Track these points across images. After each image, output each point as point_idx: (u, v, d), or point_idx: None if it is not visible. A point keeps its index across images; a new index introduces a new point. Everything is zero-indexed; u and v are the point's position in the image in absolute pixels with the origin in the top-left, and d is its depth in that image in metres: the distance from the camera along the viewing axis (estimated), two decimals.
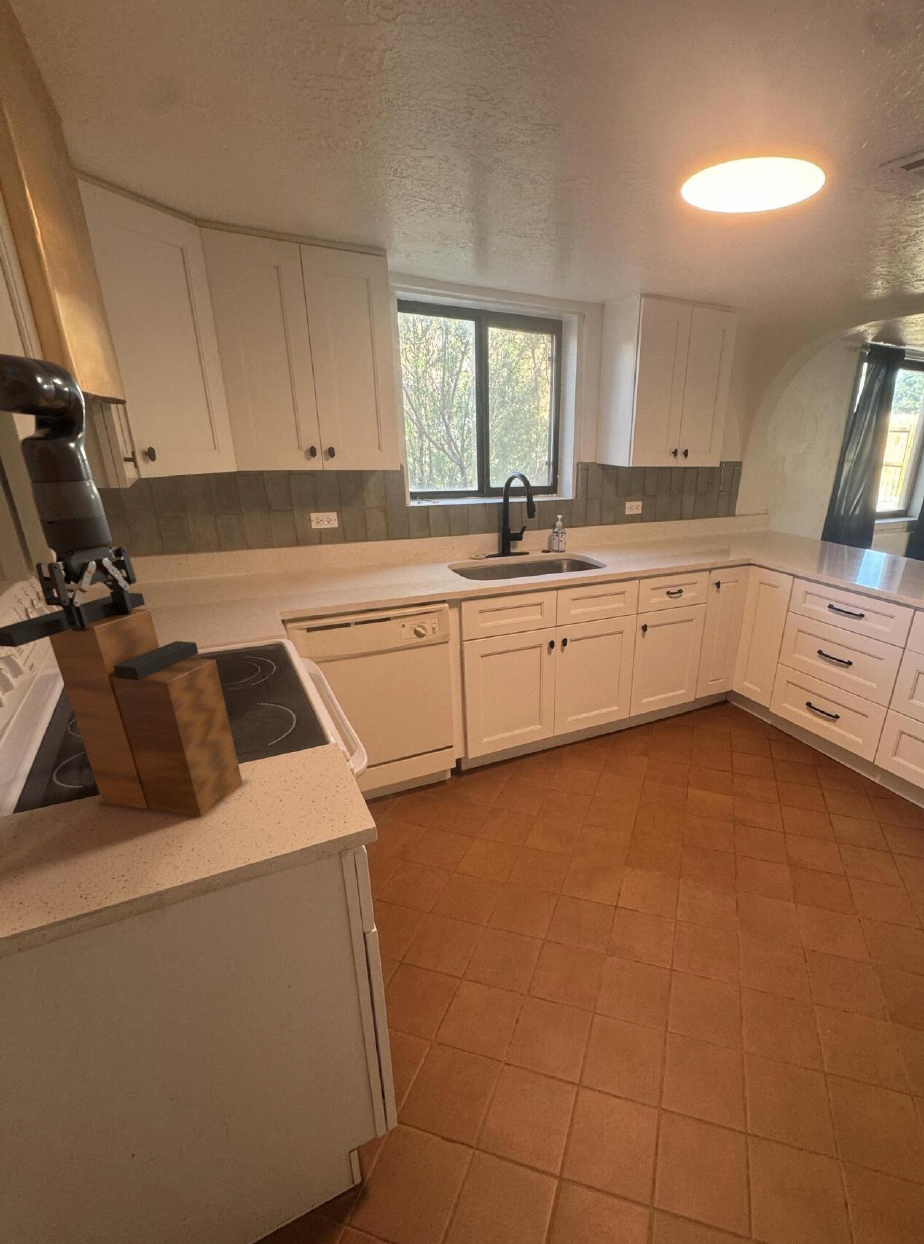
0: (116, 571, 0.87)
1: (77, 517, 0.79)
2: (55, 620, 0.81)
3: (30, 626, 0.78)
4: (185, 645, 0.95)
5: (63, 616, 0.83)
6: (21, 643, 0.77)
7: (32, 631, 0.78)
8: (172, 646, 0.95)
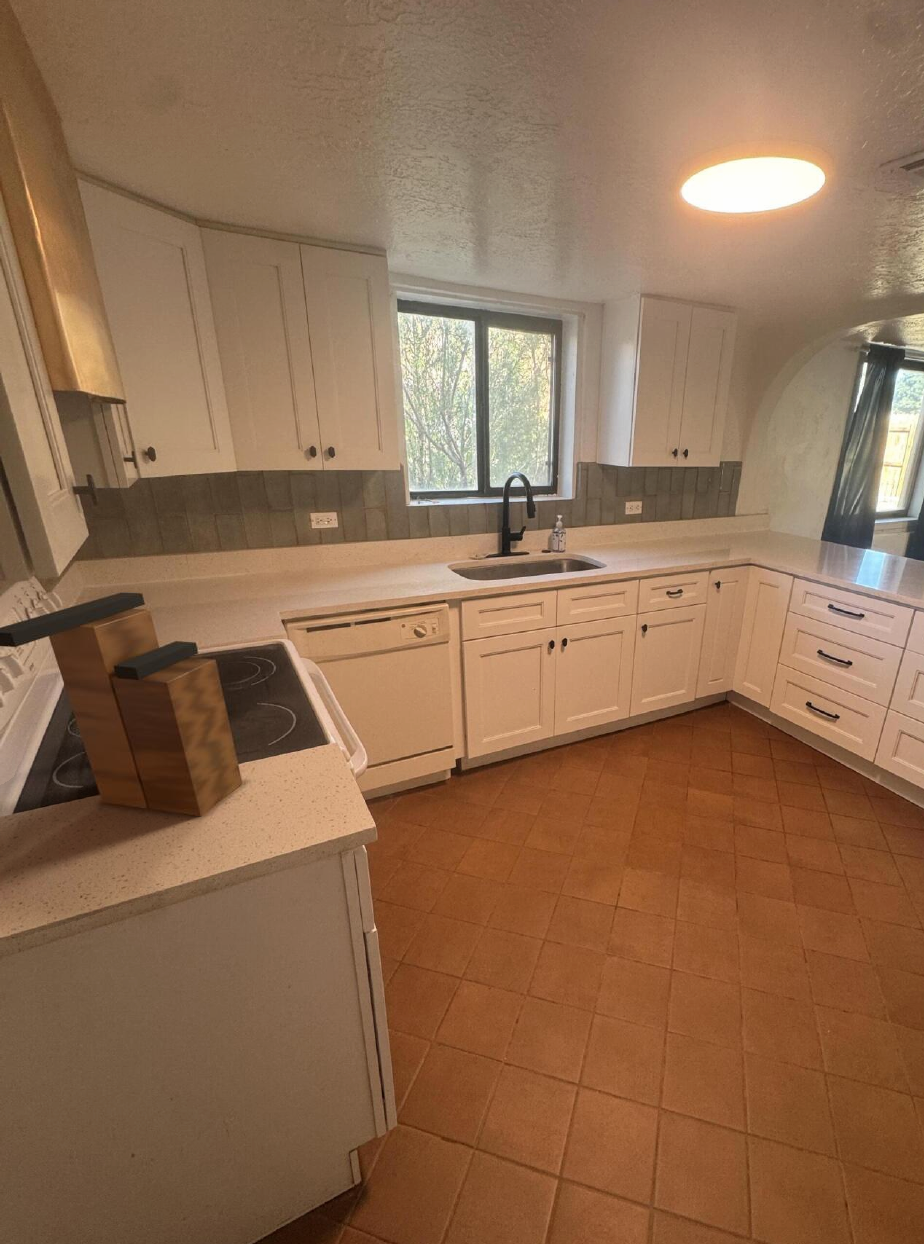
0: None
1: None
2: (55, 620, 0.81)
3: (30, 626, 0.78)
4: (185, 645, 0.95)
5: (63, 616, 0.83)
6: (21, 643, 0.77)
7: (32, 631, 0.78)
8: (172, 646, 0.95)
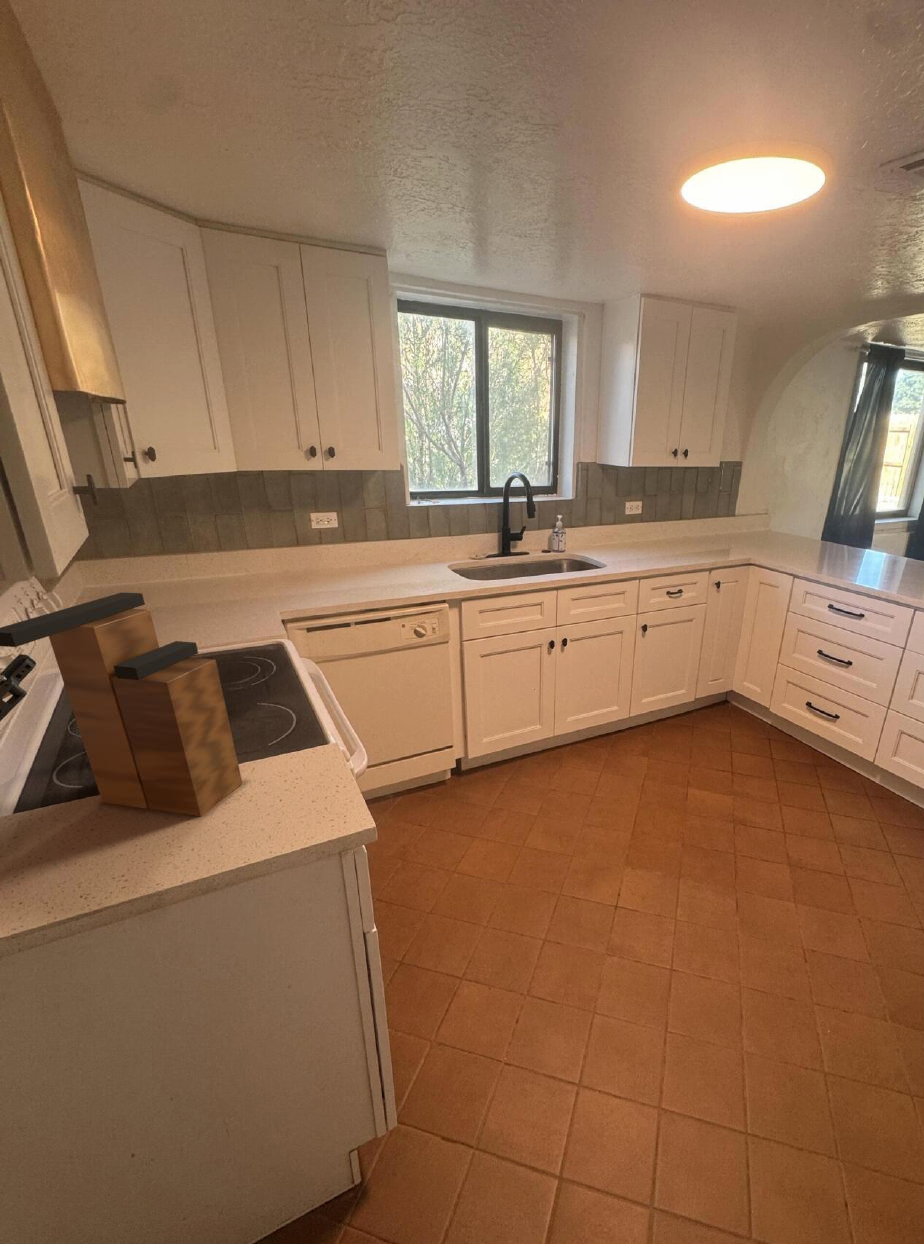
0: None
1: None
2: (55, 620, 0.81)
3: (30, 626, 0.78)
4: (185, 645, 0.95)
5: (63, 616, 0.83)
6: (21, 643, 0.77)
7: (32, 631, 0.78)
8: (172, 646, 0.95)
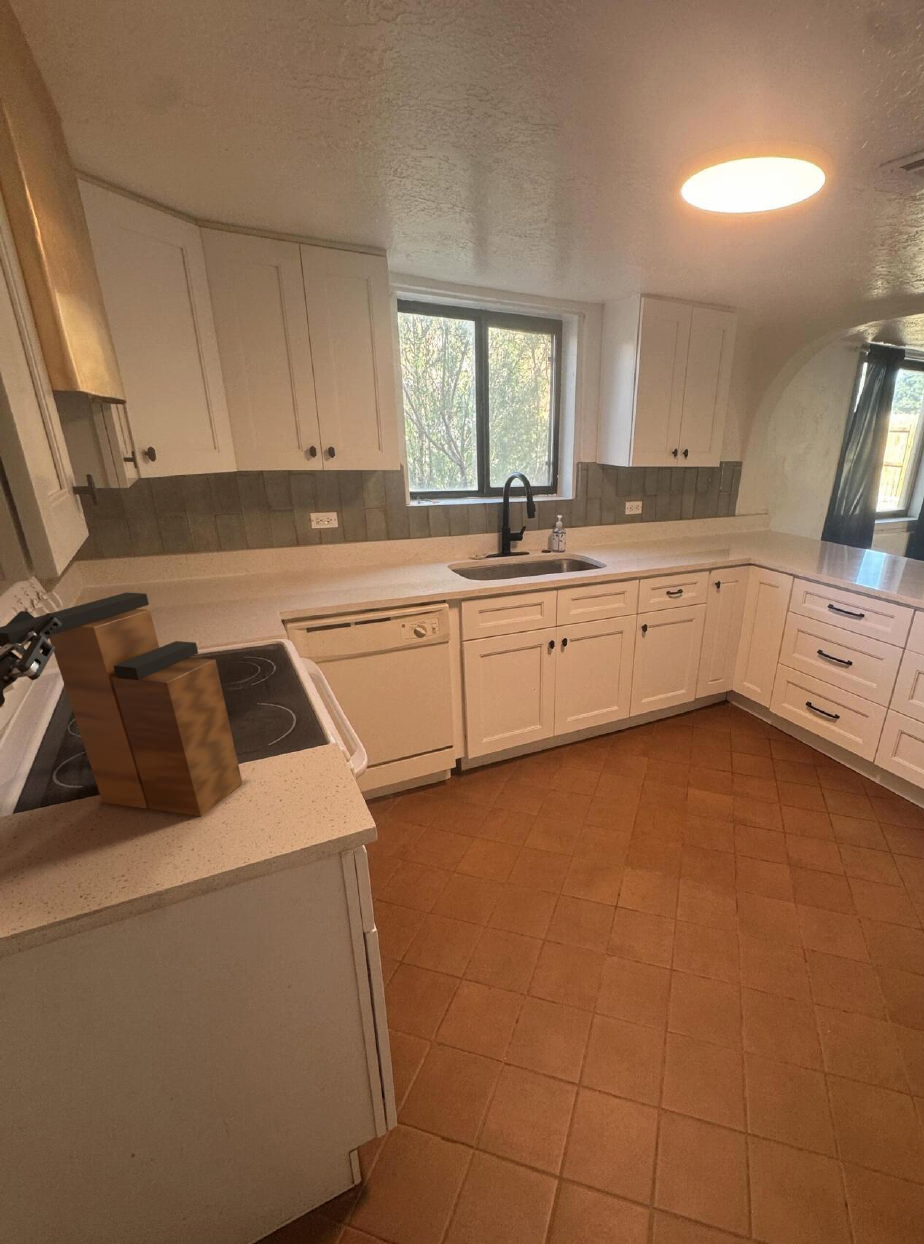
0: None
1: None
2: None
3: (28, 626, 0.78)
4: (185, 645, 0.95)
5: (63, 616, 0.83)
6: None
7: (29, 631, 0.78)
8: (172, 646, 0.95)
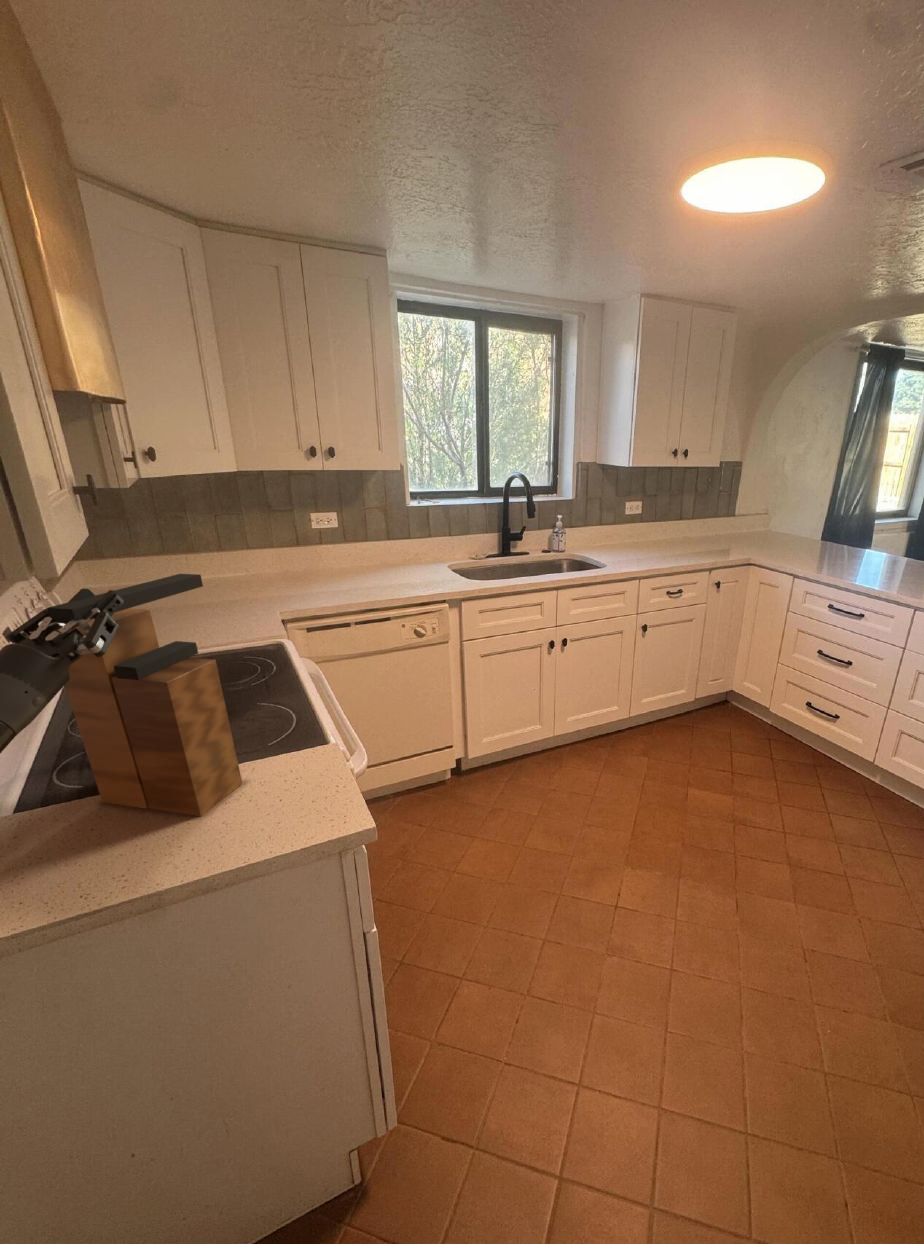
0: None
1: None
2: None
3: (91, 603, 0.77)
4: (185, 645, 0.95)
5: (123, 594, 0.81)
6: None
7: (92, 608, 0.77)
8: (172, 646, 0.95)
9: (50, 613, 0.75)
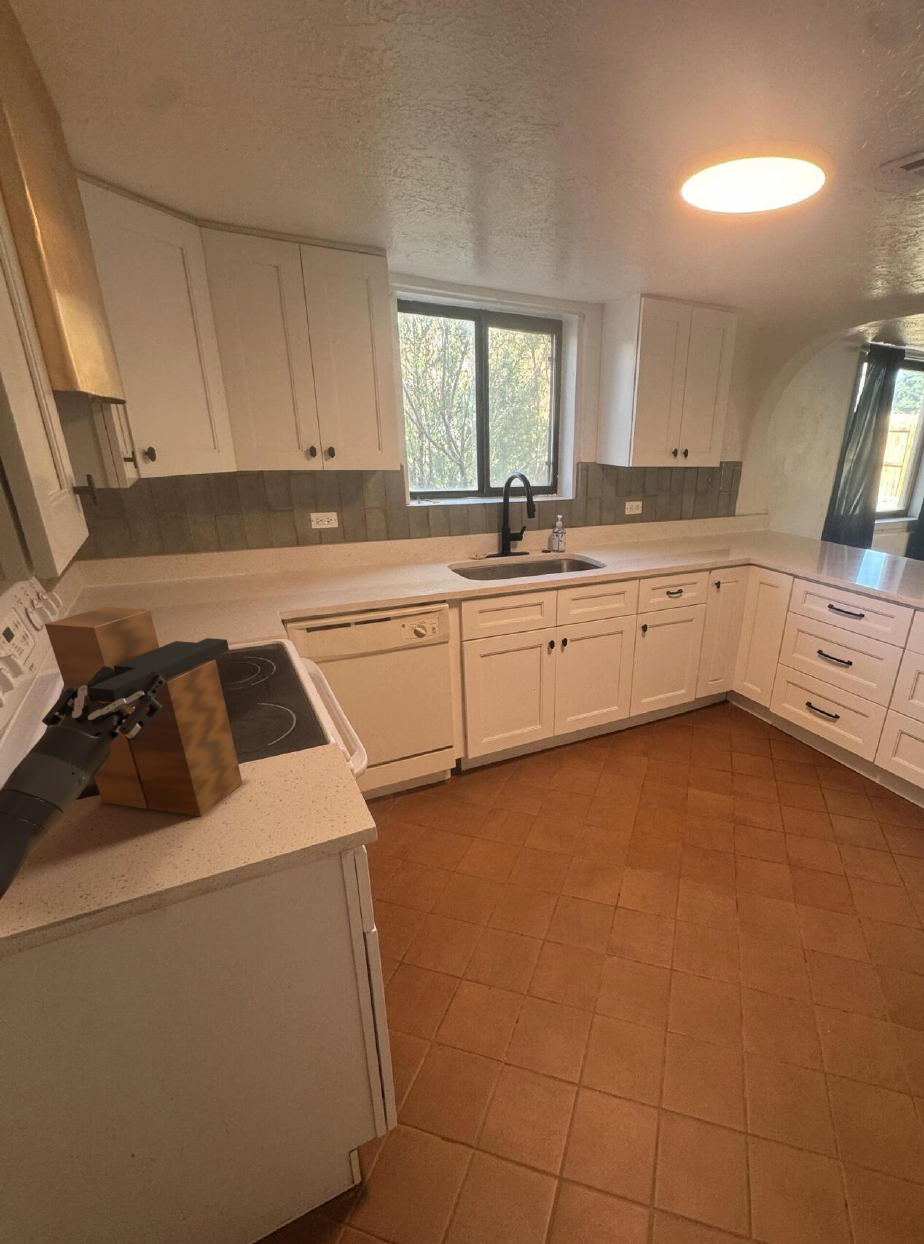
0: None
1: None
2: None
3: (129, 681, 0.81)
4: (185, 645, 0.95)
5: (158, 668, 0.85)
6: None
7: (130, 686, 0.81)
8: (172, 646, 0.95)
9: (91, 692, 0.79)
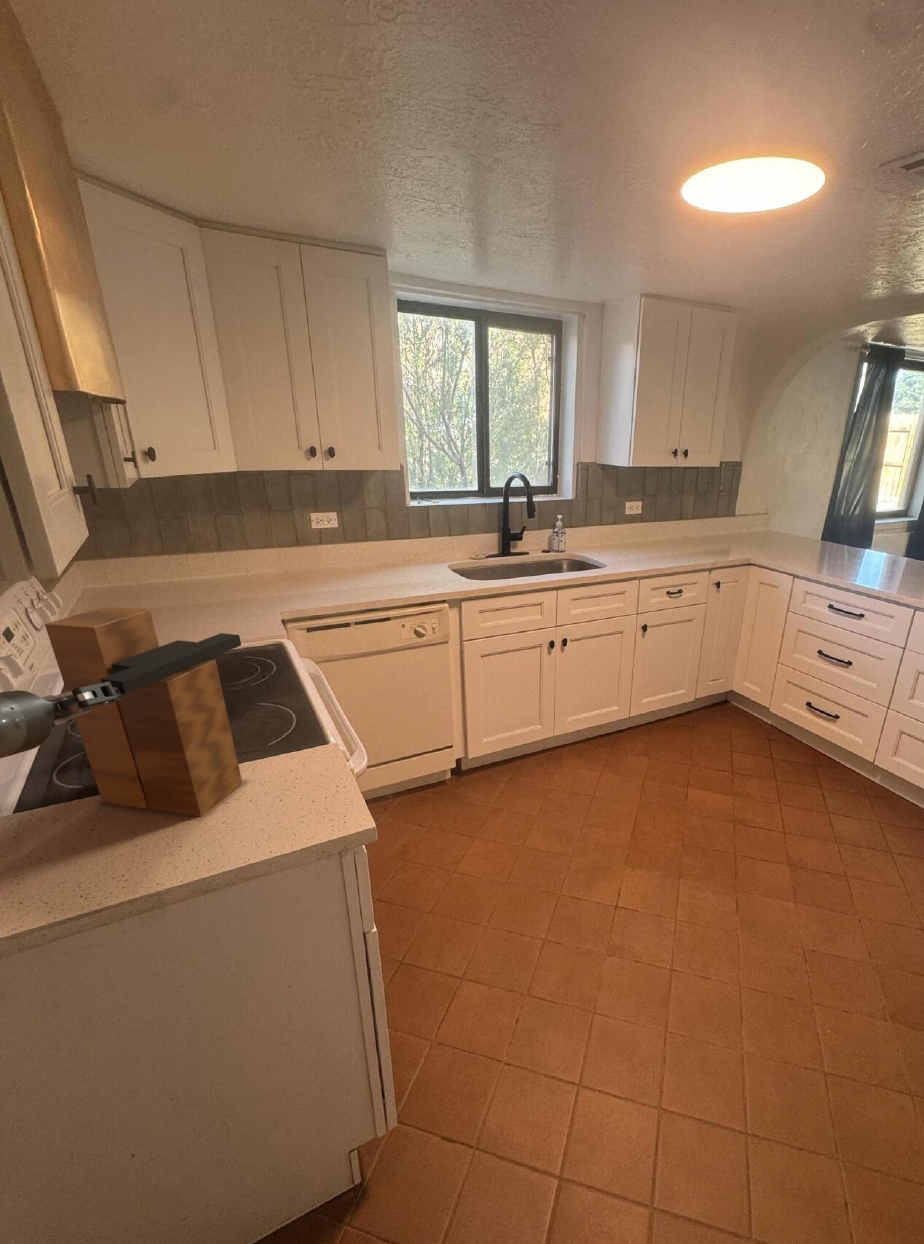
0: (78, 716, 0.74)
1: None
2: (161, 666, 0.86)
3: (139, 673, 0.83)
4: (185, 644, 0.95)
5: (168, 662, 0.88)
6: (130, 690, 0.82)
7: (140, 678, 0.83)
8: (172, 645, 0.95)
9: None
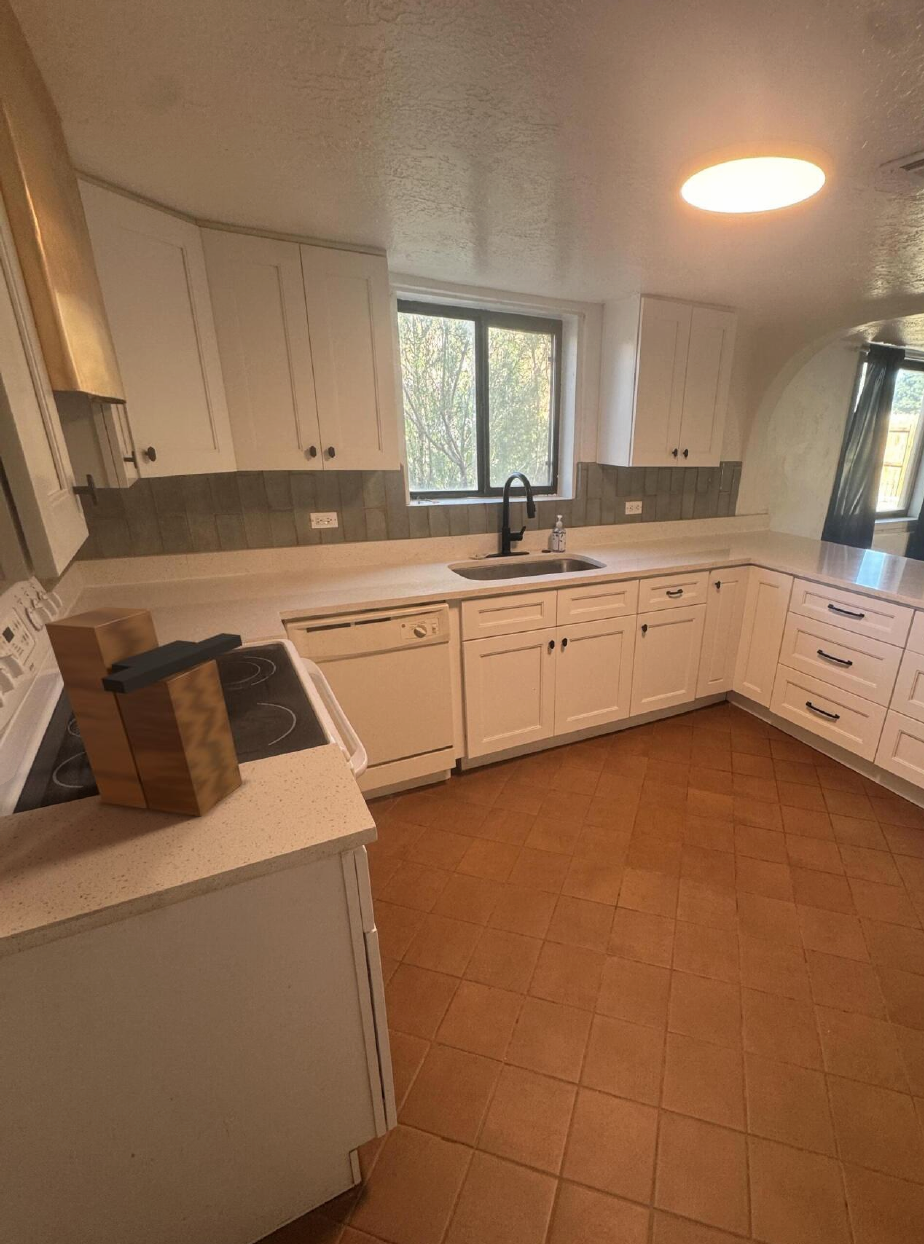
0: None
1: None
2: (161, 666, 0.86)
3: (139, 673, 0.83)
4: (185, 644, 0.95)
5: (169, 662, 0.88)
6: (130, 690, 0.82)
7: (140, 678, 0.83)
8: (172, 645, 0.95)
9: (103, 683, 0.82)
